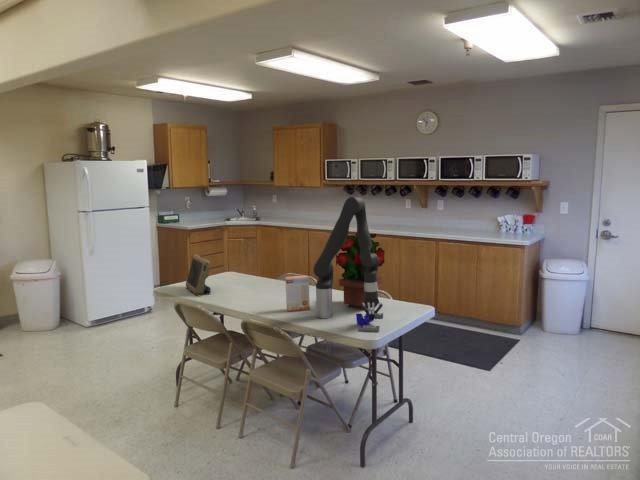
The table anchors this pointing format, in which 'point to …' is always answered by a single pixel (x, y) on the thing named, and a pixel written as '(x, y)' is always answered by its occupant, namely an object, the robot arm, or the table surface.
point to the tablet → (198, 275)
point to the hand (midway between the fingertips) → (372, 320)
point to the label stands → (372, 328)
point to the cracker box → (297, 293)
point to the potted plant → (355, 270)
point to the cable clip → (363, 321)
